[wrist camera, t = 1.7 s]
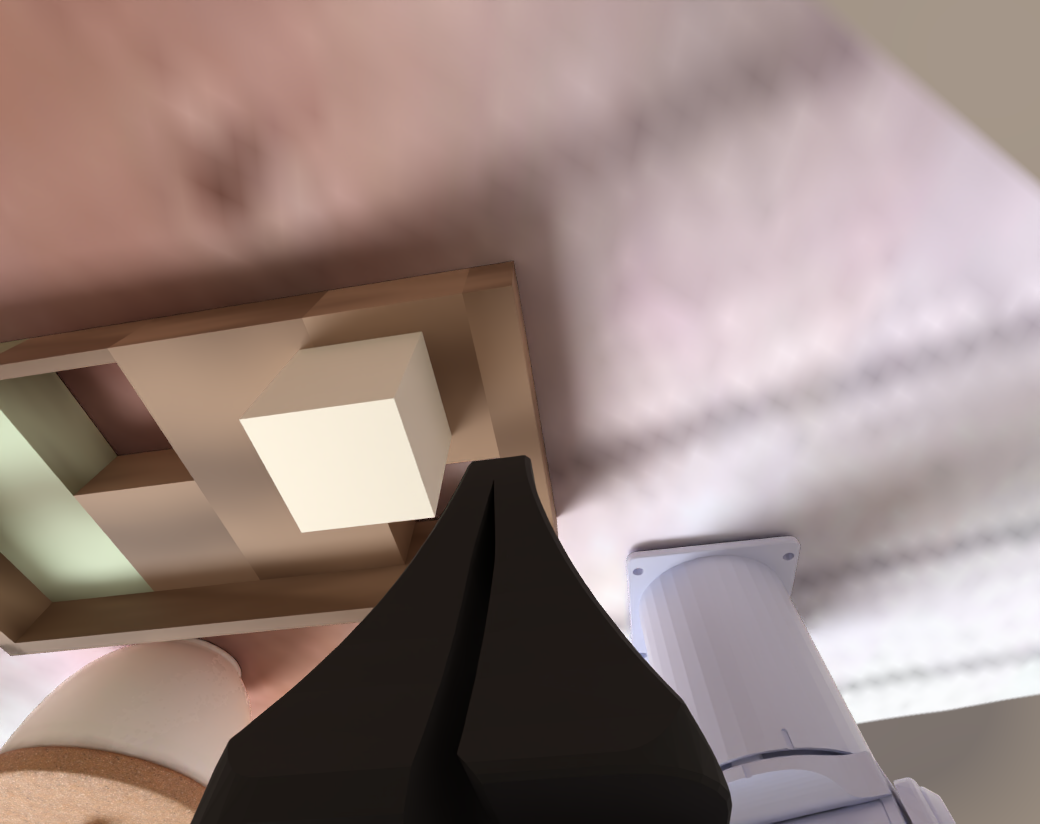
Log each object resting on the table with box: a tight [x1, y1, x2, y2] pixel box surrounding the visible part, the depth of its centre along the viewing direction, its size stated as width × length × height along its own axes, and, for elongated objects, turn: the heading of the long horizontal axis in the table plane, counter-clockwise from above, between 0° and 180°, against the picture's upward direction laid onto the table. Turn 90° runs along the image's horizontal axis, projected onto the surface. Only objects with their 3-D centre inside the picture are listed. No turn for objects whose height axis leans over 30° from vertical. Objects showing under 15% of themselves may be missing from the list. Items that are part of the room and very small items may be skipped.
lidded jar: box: [0, 638, 251, 824], centre depth 26 cm, size 11×11×9 cm
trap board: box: [0, 261, 558, 656], centre depth 19 cm, size 12×24×4 cm, turn 99°
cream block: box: [239, 332, 452, 533], centre depth 15 cm, size 4×4×4 cm
